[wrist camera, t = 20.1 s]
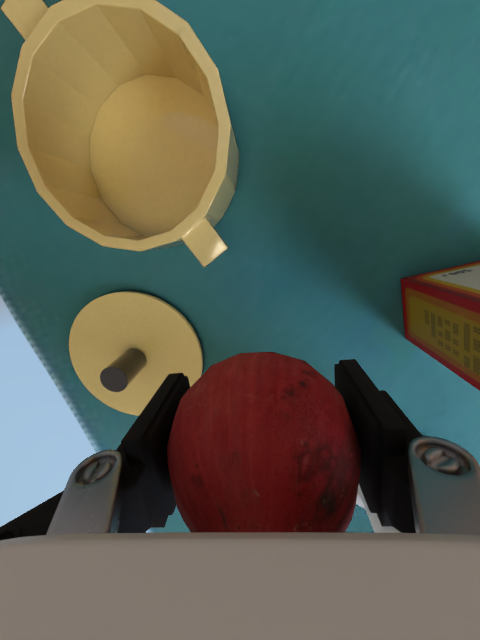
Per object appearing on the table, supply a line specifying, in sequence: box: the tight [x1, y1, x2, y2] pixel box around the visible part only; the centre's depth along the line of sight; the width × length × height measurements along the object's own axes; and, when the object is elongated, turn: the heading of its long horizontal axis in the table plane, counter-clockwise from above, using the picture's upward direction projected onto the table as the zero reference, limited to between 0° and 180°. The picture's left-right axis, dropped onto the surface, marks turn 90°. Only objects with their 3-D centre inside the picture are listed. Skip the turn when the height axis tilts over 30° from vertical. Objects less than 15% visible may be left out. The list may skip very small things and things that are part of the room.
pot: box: [1, 0, 239, 267], centre depth 21 cm, size 15×20×8 cm
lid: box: [69, 291, 203, 416], centre depth 28 cm, size 16×16×6 cm
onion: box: [167, 352, 361, 533], centre depth 8 cm, size 6×6×8 cm
